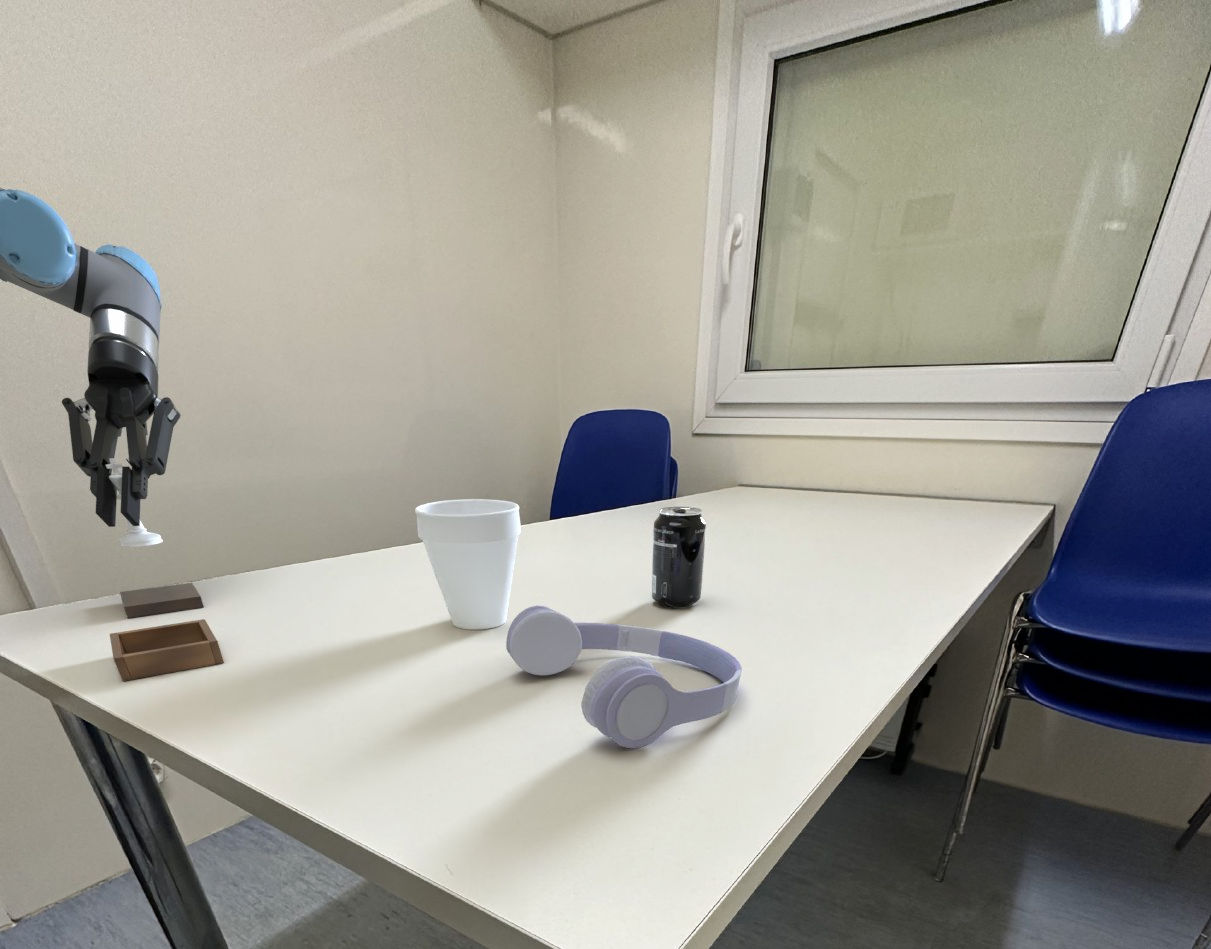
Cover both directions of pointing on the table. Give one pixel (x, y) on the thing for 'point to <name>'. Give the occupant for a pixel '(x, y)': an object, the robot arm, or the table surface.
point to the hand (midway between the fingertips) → (117, 519)
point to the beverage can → (678, 556)
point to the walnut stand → (160, 600)
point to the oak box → (164, 649)
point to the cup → (472, 556)
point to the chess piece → (137, 533)
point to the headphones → (625, 673)
